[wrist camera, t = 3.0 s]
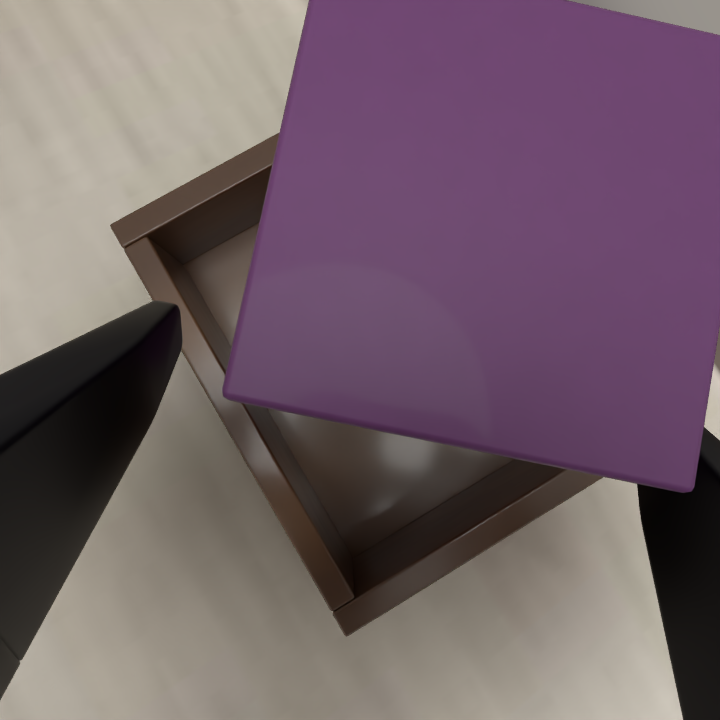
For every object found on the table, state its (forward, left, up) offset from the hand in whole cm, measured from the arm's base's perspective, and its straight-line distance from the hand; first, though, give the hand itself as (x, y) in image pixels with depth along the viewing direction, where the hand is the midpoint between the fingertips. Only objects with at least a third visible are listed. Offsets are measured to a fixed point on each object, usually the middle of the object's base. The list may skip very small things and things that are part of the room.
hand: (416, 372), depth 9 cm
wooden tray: (+2, 0, -9) cm, 9 cm away
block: (+2, 0, -9) cm, 9 cm away
